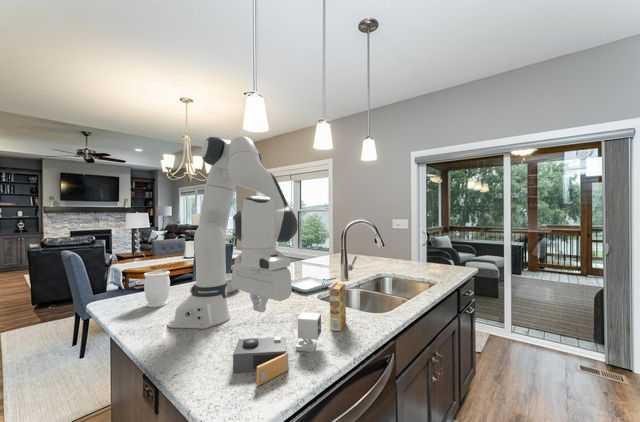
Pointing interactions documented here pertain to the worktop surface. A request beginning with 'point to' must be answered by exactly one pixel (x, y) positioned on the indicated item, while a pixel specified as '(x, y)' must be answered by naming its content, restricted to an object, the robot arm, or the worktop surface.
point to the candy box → (337, 307)
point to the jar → (157, 288)
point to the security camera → (308, 331)
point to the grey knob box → (256, 352)
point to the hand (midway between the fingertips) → (259, 311)
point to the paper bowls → (229, 283)
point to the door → (272, 368)
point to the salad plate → (309, 284)
